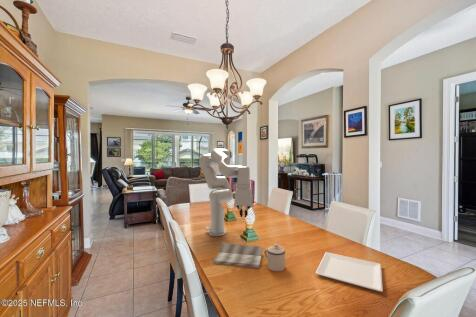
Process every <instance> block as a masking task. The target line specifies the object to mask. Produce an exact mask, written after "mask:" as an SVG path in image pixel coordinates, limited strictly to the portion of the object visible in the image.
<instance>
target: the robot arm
mask: <svg viewBox="0 0 476 317" xmlns="http://www.w3.org/2000/svg"><path fill="white" fill-rule="evenodd" d="M230 162H231V153H230V150H228V149H226V148H214V149H212V150H211V151H210V153H204V154H201V155H200V157H199V160H198V165H199V167H200V170H201V172H202V173H203V175H204V178H205V181H206V185H207V188H208V189H209V190H211V191H210V192H209V194H208V199H209V203H210V204H209V205H210V226H205V231H208V235H209V236H212V237H222V236H225V235H226V234H227V231H226V230H225V209H224V205H222V203H225V202H227V203H228V202H231V201H232V200H233V197H234V204H233V206H234V207H235V208H237V209H238V210H239V216H240V218H242V217H243V216H244V218H247V216H249V214H248V212H249V211H248V210H249V209H250V208H253V207H254V203H253V196H252V195H253V194H252V189H251V188H250V187H251V186H250V182H251V181H250V180H251V179H250V178H251V176H250V172H251V171H250V170H251V169H250V167H249V166H247V165H246V166H245V165H244V166H243V165H239V164H238V165H229V164H230ZM215 165H216V166H217V165H218V167H217V168H218V171H219V173H220V174H221V175H217V174H216V171H215V169H214V168H213V167H212V166H215ZM228 178H229V179H231V178H236V179H237V180H236V183H237V184H234V187H236V189H235V192H234V196H233V191H232V187H231V186H230V183H229V181H228ZM243 207H245V210H243ZM243 211H244V214H243Z"/></svg>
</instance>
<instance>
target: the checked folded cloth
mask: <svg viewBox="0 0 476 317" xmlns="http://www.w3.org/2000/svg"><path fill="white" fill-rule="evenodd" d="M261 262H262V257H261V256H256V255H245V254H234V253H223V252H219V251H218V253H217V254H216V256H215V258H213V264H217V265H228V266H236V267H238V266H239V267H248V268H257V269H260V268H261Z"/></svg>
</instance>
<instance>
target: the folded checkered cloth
mask: <svg viewBox="0 0 476 317" xmlns="http://www.w3.org/2000/svg"><path fill="white" fill-rule="evenodd" d="M220 244H221V245H220V247H219V248H220V249H219V251H218V253H219V252H223V253H234V254H245V255H256V256H261V258H262V257H263V246H260V245H259V246H258V245H249V244H248V245H246V244H234V243H226V242H225V243H223V242H222V243H220Z"/></svg>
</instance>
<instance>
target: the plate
mask: <svg viewBox="0 0 476 317" xmlns="http://www.w3.org/2000/svg"><path fill="white" fill-rule="evenodd" d="M315 274H316V275H318V276H322V277H324V278H330V279H333V280H336V281H340V282H342V283H347V284H350V285H354V286H357V287H361V288H366V289H370V290H373V291H377V292H381V293H382V292H383V275H382V264H381V263H379V262H373V261H369V260H366V259H365V260H364V259H360V258H355V257H352V256H351V257H350V256H346V255H341V254H338V253H333V252H328V251H325V253H324V255H323V256H322V259H321V261H320V263H319V265H318V267H317V268H316V271H315Z"/></svg>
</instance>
